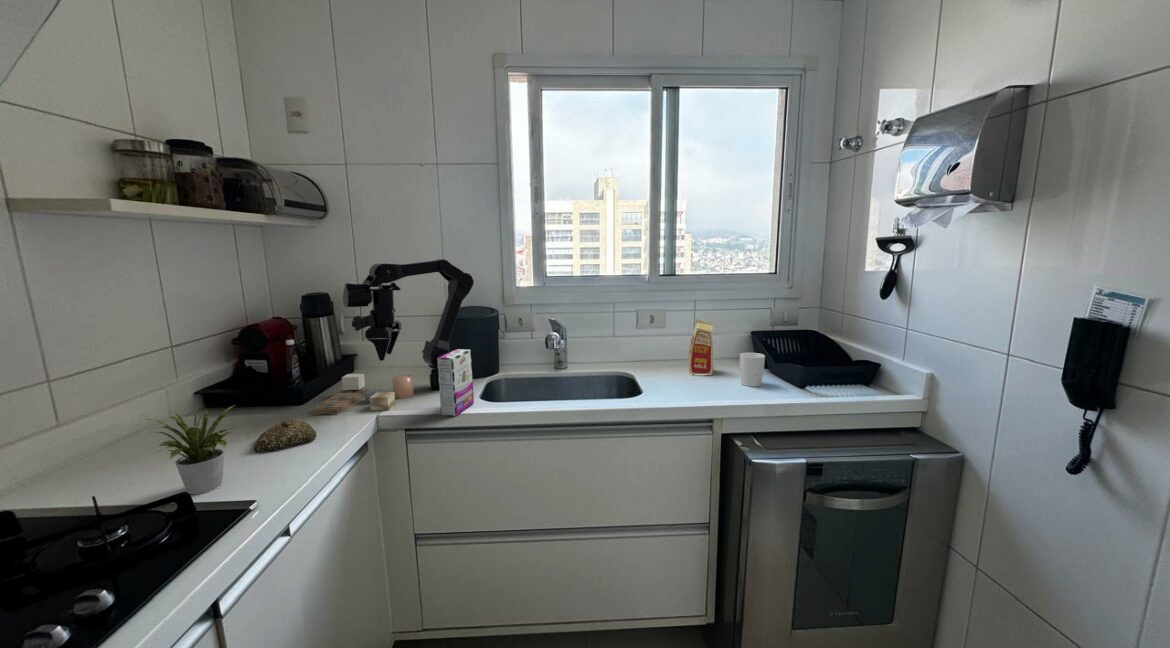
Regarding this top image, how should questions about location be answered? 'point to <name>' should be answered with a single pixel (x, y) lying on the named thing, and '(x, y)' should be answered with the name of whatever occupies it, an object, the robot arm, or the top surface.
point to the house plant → (198, 453)
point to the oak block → (382, 401)
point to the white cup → (751, 369)
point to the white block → (353, 381)
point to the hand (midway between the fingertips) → (385, 357)
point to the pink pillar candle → (403, 386)
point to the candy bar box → (455, 382)
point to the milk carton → (701, 349)
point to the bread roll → (285, 436)
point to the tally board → (338, 402)
